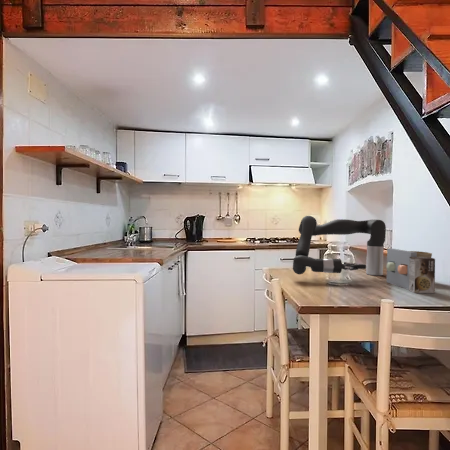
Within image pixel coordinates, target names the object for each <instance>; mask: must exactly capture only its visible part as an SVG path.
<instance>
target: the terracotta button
mask: <svg viewBox="0 0 450 450" xmlns="http://www.w3.org/2000/svg"><path fill="white" fill-rule="evenodd" d="M407 268H408V265H399V266H398V273H399V274H407Z"/></svg>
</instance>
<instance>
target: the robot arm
mask: <svg viewBox="0 0 450 450" xmlns="http://www.w3.org/2000/svg"><path fill="white" fill-rule="evenodd" d="M317 222H318V221H317V219H316V218H315V217H314V216H311V215H304V216H303V217H302V219H301V221H300V224H299V226H298V232H299V234H300V235H299V239H298V242H297V245H296V249H295V257H294V258H293V261H292V271H293V272H294V274H296V275H302V274H304V273H305V272H306V270H307V268H310V270H311V271H312V273H313V272H314V273H328V274H341V273H342V270H344V271H356V270H357V271H358V270H365V273H366V275H370V276H383V275H384V246H385V245H384V244H385V242H386V233H387V232H386V231H387V227H386V223H385V221H383V219H367V220H355V219H354V220H353V219H347V218H346V219H343V218H342V219H340V218H339V219H337V218H336V219H333V220H330V221H328V222H326V223H323V224H318V223H317ZM353 234H367V235H370V238H369V239H368V240H367V242H366V258H365V260H366V261H365V263H366V264H364V263H363V264H362V263H355V262H347V261H342V259H341V258H314V257H310V256H309V255H310V254H309V253H310V249H311V245H312V244H311V242H312V237H313V236H314V237H315V236H323V235H325V236H326V235H327V236H328V235H329V236H330V235H332V236H333V235H338V236H340V235H341V236H342V235H343V236H345V235H346V236H347V235H353ZM342 263H344V264H342Z"/></svg>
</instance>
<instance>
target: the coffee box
mask: <svg viewBox="0 0 450 450" xmlns="http://www.w3.org/2000/svg"><path fill="white" fill-rule="evenodd" d="M408 291H410V292H412V293H414V294H436V292H435V291H436V258H434V257H410V259H409V290H408Z"/></svg>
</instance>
